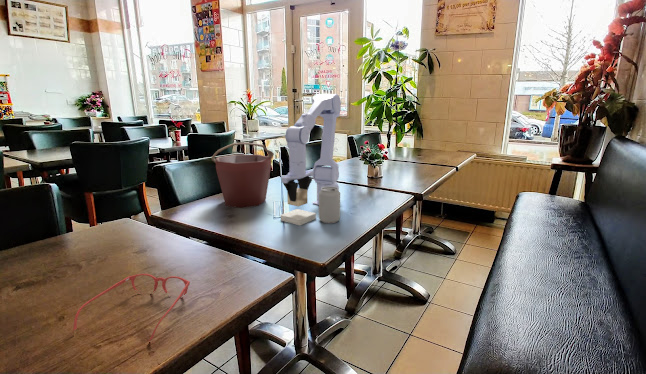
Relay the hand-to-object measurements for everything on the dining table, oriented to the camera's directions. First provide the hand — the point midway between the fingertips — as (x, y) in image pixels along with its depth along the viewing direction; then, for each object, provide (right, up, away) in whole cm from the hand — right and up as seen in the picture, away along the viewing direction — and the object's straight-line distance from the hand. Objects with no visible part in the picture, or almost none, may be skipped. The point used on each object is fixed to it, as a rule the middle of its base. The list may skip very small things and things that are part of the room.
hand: (298, 199), depth 123 cm
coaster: (0, -7, +2) cm, 8 cm away
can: (+11, -8, +1) cm, 14 cm away
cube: (0, -2, +1) cm, 2 cm away
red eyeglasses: (-28, -22, -54) cm, 64 cm away
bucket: (-24, -2, +23) cm, 33 cm away
